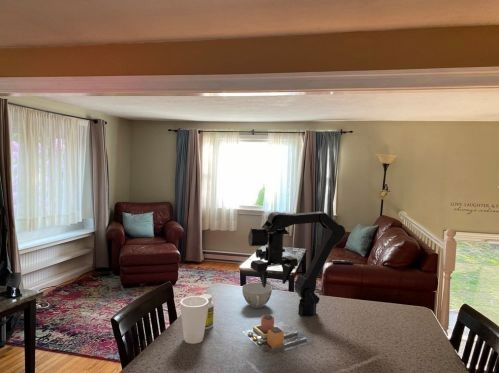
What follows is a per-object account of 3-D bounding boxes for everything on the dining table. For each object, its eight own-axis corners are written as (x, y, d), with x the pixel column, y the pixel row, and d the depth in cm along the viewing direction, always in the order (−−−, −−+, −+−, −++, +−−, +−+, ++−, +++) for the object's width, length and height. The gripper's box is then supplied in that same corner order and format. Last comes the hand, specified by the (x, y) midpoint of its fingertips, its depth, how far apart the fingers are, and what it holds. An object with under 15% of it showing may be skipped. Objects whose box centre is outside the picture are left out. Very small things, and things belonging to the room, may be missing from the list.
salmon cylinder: (276, 333, 123) (276, 317, 122) (265, 335, 120) (265, 320, 120) (268, 327, 126) (269, 312, 126) (258, 330, 124) (258, 314, 124)
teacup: (241, 299, 154) (242, 281, 153) (270, 300, 154) (271, 282, 153) (241, 314, 139) (241, 294, 138) (272, 315, 139) (273, 295, 138)
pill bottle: (210, 330, 124) (210, 300, 123) (193, 328, 125) (194, 298, 125) (215, 323, 130) (216, 294, 130) (199, 321, 132) (200, 292, 131)
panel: (283, 323, 132) (283, 319, 132) (313, 344, 117) (313, 339, 117) (241, 334, 123) (241, 329, 123) (268, 358, 108) (268, 353, 108)
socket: (269, 325, 128) (269, 322, 128) (281, 333, 122) (281, 330, 122) (253, 329, 124) (253, 326, 124) (264, 338, 118) (264, 335, 118)
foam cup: (212, 335, 121) (213, 298, 120) (200, 348, 112) (200, 309, 112) (188, 330, 124) (188, 294, 123) (174, 342, 116) (174, 304, 115)
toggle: (277, 340, 117) (277, 325, 117) (283, 345, 114) (284, 330, 114) (267, 343, 115) (267, 328, 115) (273, 348, 112) (273, 332, 112)
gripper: (282, 239, 146) (281, 275, 147) (243, 243, 136) (242, 282, 137) (299, 245, 136) (298, 284, 137) (259, 249, 127) (257, 291, 128)
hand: (274, 285), depth 135 cm, fingers open, 9 cm apart
